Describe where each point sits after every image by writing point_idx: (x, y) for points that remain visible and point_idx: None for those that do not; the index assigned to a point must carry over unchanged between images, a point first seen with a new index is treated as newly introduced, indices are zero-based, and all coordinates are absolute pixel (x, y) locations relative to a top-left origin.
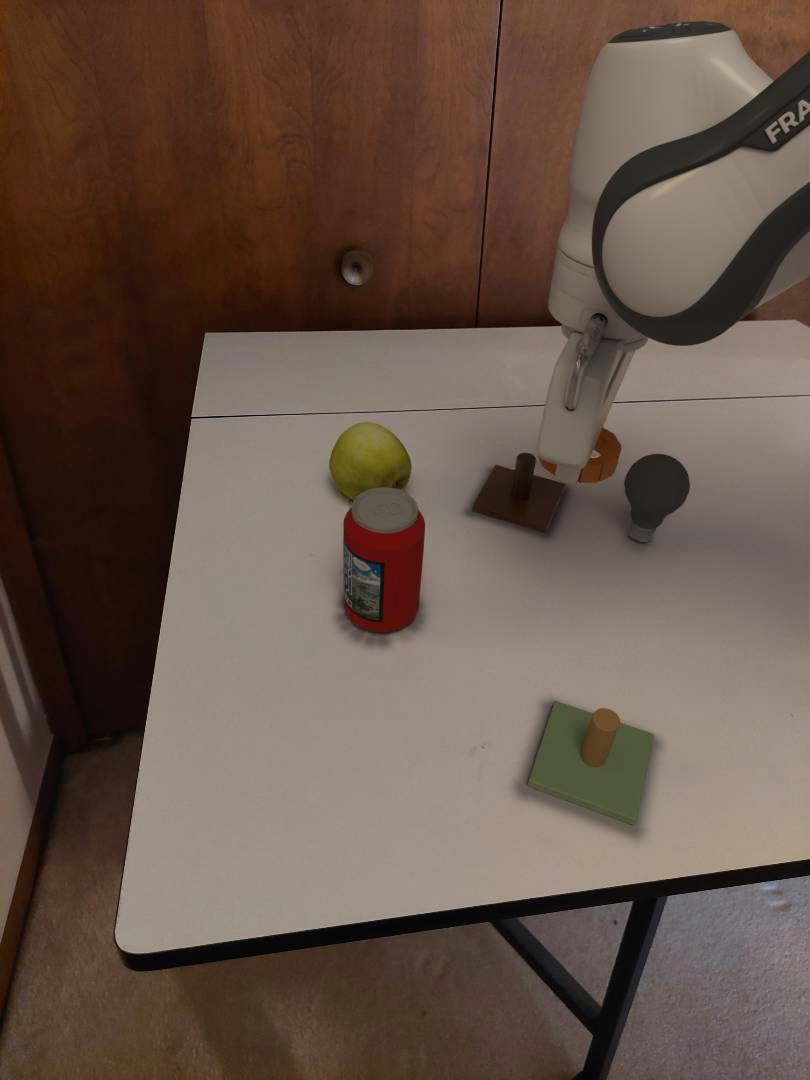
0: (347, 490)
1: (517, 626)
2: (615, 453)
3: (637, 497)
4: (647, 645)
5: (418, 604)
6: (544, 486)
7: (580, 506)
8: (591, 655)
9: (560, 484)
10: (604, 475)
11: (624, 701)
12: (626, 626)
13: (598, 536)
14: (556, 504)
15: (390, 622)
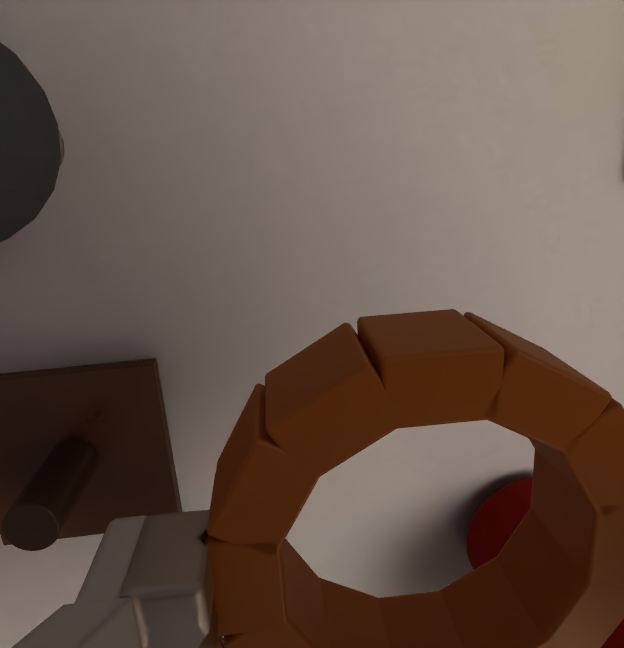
0: None
1: (462, 308)
2: (477, 370)
3: (50, 182)
4: (398, 34)
5: (529, 488)
6: (7, 422)
7: (7, 320)
8: (477, 146)
9: None
10: (538, 348)
11: (572, 45)
12: (362, 97)
13: (93, 245)
14: (56, 374)
15: None
